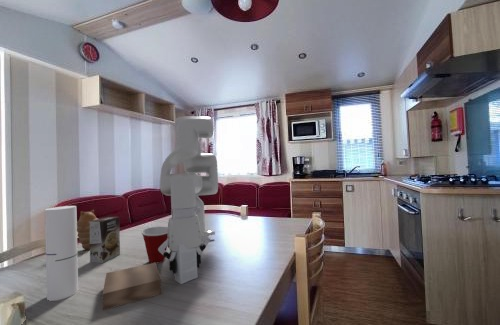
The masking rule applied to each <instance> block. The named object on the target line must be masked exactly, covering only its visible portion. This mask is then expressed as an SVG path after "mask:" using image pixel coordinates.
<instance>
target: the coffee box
mask: <svg viewBox="0 0 500 325" xmlns="http://www.w3.org/2000/svg"><path fill="white" fill-rule="evenodd" d="M120 238H121V235H120V216H107V217H102V218H98V219H97V220H93V221H90V249H89V262H90V263H99V264H103V263H105V262H107V261H110V260H111V259H114V258H115V257H117V256H120V255H121V244H120V243H121V240H120Z"/></svg>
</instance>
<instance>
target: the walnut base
mask: <svg viewBox="0 0 500 325" xmlns="http://www.w3.org/2000/svg"><path fill="white" fill-rule="evenodd" d="M158 269H159V268H158V267H157V263H147V264H142V265H137V266H132V267H128V268H124V269H120V270H119V269H118V270H115V271H110V272H106V275H105V278H104V279H105V280H104V284H103V290H102V310H108V309H111V308H114V307H115V308H116V307H118V306H122V305H125V304H130V303H133V302H136V301H140V300H144V299H147V298H151V297H154V296H158V295H162V294H163V293H162V278H161V277H162V276H161V274H160V271H159V270H158Z"/></svg>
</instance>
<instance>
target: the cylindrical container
mask: <svg viewBox="0 0 500 325" xmlns="http://www.w3.org/2000/svg"><path fill="white" fill-rule="evenodd" d="M44 213H45V214H44V220H45V221H44V226H45V227H44V228H45V230H44V232H45V235H44V236H45V271H46V272H45V275H46V277H45V279H46V285H45V286H46V300H47V301H48V300H49V302H55V301H61V300H64V299H67V298H69V297H71V296H73V295H75V294H76V293H78V291H79V266H78V265H79V261H78V257H79V256H78V255H79V254H78V232H77V222H78V218H77V217H78V216H77V215H78V214H77V205H64V206H56V207H47V208H45V209H44Z"/></svg>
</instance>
